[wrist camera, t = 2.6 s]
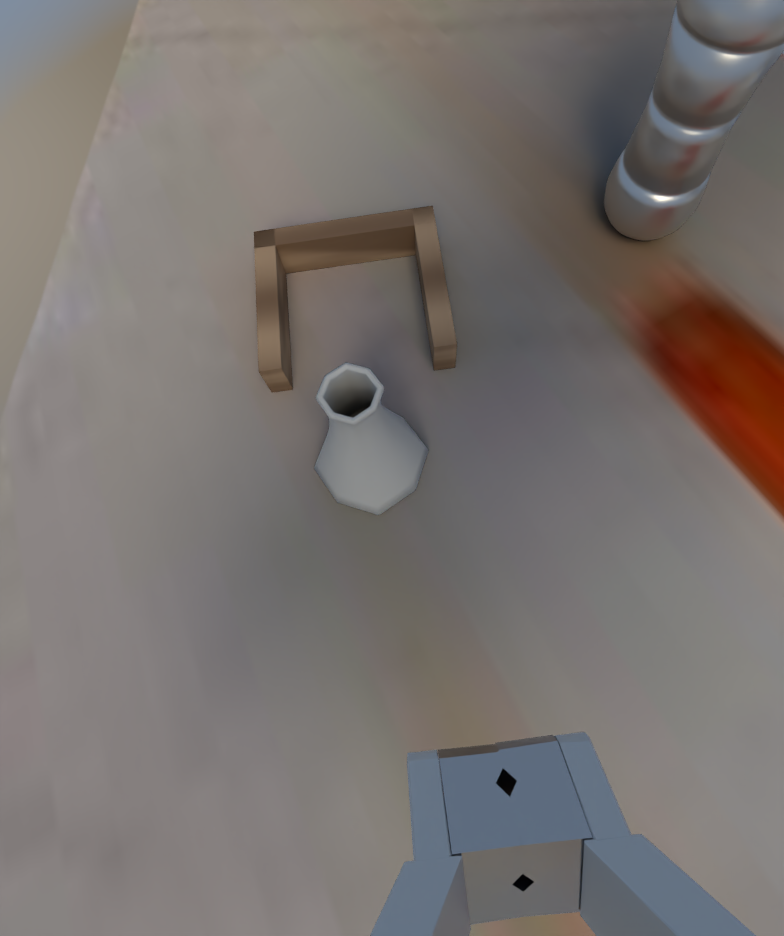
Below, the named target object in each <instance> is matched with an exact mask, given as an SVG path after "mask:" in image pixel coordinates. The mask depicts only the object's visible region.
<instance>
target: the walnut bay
mask: <svg viewBox="0 0 784 936" xmlns="http://www.w3.org/2000/svg"><path fill="white" fill-rule="evenodd" d="M254 249H255V278H256V307H257V336H258V366H259V373H260V374H261V376H262V378H263V379H264V381H265V382H266V384H267V386H268V387H269V389H270V390H271V392H279V391H286V390H293V385H292V368H291V350H290V333H289V315H288V298H287V280H286V273H293V272H300V271H307V270H314V269H321V268H328V267H335V266H342V265H349V264H356V263H363V262H370V261H377V260H384V259H391V258H398V257H405V256H412V255H416V260H417V266H418V273H419V279H420V285H421V292H422V298H423V305H424V311H425V317H426V324H427V330H428V336H429V343H430V349H431V355H432V362H433V368H434V370H441V369H448V368H455V364H456V352H457V341H456V335H455V330H454V324H453V318H452V313H451V307H450V301H449V296H448V290H447V284H446V279H445V273H444V267H443V262H442V256H441V250H440V245H439V239H438V233H437V228H436V222H435V216H434V211H433V206H427V207H420V208H413V209H407V210H400V211H393V212H386V213H379V214H372V215H365V216H359V217H352V218H345V219H338V220H331V221H324V222H317V223H311V224H304V225H297V226H290V227H283V228H276V229H269V230H263V231H256V232H254Z"/></svg>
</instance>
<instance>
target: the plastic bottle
mask: <svg viewBox="0 0 784 936" xmlns="http://www.w3.org/2000/svg"><path fill="white" fill-rule="evenodd" d="M783 51H784V0H677V4H676V7H675V10H674V14H673V18H672V22H671V26H670V30H669V34H668V38H667V42H666V46H665V50H664V54H663V58H662V61H661V64H660V67H659V70H658V73H657V76H656V79H655V82H654V86H653V88H652V91H651V94H650V97H649V100H648V103H647V105H646V107H645V109H644V111H643V113H642V115H641V117H640V119H639V122H638V124H637V126H636V128H635V130H634V132H633V134H632V136H631V138H630V140H629V142H628V144H627V146H626V147H625V149H624V150H623V152H622V153H621V155H620V156H619V158H618V160H617V162H616V163H615V165H614V167H613V169H612V171H611V173H610V175H609V178H608V180H607V185H606V191H605V197H604V208H605V211H606V214H607V216H608V219H609V221H610V223H611V224H612V226H613V227H614V228H615V229H616V230H617V231H618V232H620V233H621V234H623V235H625V236H627V237H629V238H632V239H636V240H644V241H645V240H654V239H659V238H661V237H664V236H666V235H669V234H671V233H673V232H675V231H676V230H678V229H679V228H680V227H681V226H682V225H683V224H684V223H685V222H686V221H687V219H688V218H689V217H690V216H691V215H692V214H693V212H694V211H695V210H696V208H697V207H698V205H699V203H700V201H701V198H702V196H703V194H704V191H705V189H706V186H707V183H708V179H709V176H710V173H711V170H712V168H713V166H714V164H715V161H716V159H717V157H718V155H719V153H720V151H721V149H722V147H723V145H724V142H725V140H726V138H727V136H728V134H729V132H730V130H731V128H732V126H733V124H734V123H735V121H736V120H737V118H738V117H739V115H740V113H741V111H742V110H743V109H744V107H745V105H746V104H747V102H748V101H749V99H750V98H751V96H752V94H753V93H754V91H755V90H756V88H757V86H758V85H759V83H760V82H761V81H762V79H763V78H764V77H765V75H766V74H767V73H768V71H769V70H770V69H771V67H772V66H773V65H774V63H775V62H776V60H777V59H778V58H779V56H780V55H781V54H782V52H783Z"/></svg>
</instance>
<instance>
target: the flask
mask: <svg viewBox="0 0 784 936" xmlns="http://www.w3.org/2000/svg"><path fill="white" fill-rule="evenodd" d="M383 392H384V386H383V385H382V384H381V382H380V381H379V380H378V379H377V377H376V376H375V375H374V374H373V372H372V371H371V370H370V368H366V367H362V366H358V365H355V364H351V363H347V362H345V363H344V364H342V365H341V366H339V367H338V368H336V369H334V370H333V371H331V372H330V373H328V374H327V375H325V376H324V379H323V381H322V383H321V386H320V388H319V391H318V393H317V396H316V400H317V401H318V403H319V404H320V406H321V407H322V408H323V410H324V411H325V413H326V414H327V415H328V417H329V431H328V434H327V436H326V439H325V442H324V444H323V447H322V449H321V452H320V454H319V457H318V459H317V462H316V464H315V467H314V469H315V471H316V472H317V473H318V475H319V476H320V478H321V479H322V481H323V482H324V484H325V485H326V487H327V488H328V490H329V491H330V493H331V494H332V495H333V497H334V498H335V500H336V501H337V502H338V503H341V504H344V505H347V506H350V507H354V508H357V509H360V510H363V511H366V512H370V513H373V514H376V515H380V514H382V513H383V512H385V511H386V510H387V509H389V508H390V507H392V506H393V505H395V504H396V503H398V502H399V501H401V500H402V499H403V498H405V497H406V496H408V495H409V494H411V493H412V492H414V491H415V490H416V487H417V484H418V481H419V478H420V475H421V472H422V469H423V466H424V463H425V460H426V457H427V454H428V451H429V450H428V449H427V447H426V446H425V445H424V444H423V442H422V441H421V440H420V438H419V437H418V436H417V435H416V433H415V432H414V431H413V429H412V428H411V427H410V426H409V424H408V423H407V422H406V420H405V419H404V418H403V417H401V416H399V415H398V414H396V413H394V412H392V411H390V410H389V409H387V408H386V407H384V406H383V405H381V397H382V395H383Z"/></svg>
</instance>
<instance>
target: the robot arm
mask: <svg viewBox="0 0 784 936" xmlns="http://www.w3.org/2000/svg"><path fill="white" fill-rule="evenodd" d="M438 755H439V759H438ZM439 764H440V766H439ZM407 770H408V784H409V798H410V812H411V827H412V841H413V855H414V860H413V861H407V862H404V864H403V866H402V869H401V871H400V873H399V875H398V877H397V879H396V881H395V884H394V886H393V888H392V890H391V892H390V894H389V896H388V899H387V901H386V903H385V905H384V907H383V909H382V911H381V913H380V916H379V918H378V920H377V922H376V924H375V926H374V928H373V931H372V933H371V935H370V936H469V933H470V930H471V928H470V925H471V924H477V923H484V922H491V921H497V920H504V919H511V918H517V917H525V916H536V915H548V914H560V913H572V912H580V916H581V917H582V918H583V919H584V921H585V922H586V923H587V924H588V926H589V927H590V928H591V929H592V931H593V932H594V933H595V934H596V936H756V935H755V934H754V933H752V932H751V931H750V930H749V929H748V928H747V927H746V926H745V925H743V924H742V923H741V922H740V921H739V920H738V919H737V918H736V917H734V916H733V915H732V914H731V913H730V912H729V911H728V910H727V909H725V908H724V907H723V906H722V905H721V904H720V903H719V902H718V901H716V900H715V899H714V898H713V897H712V896H711V895H710V894H708V893H707V892H706V891H705V890H704V889H703V888H702V887H701V886H699V885H698V884H697V883H696V882H695V881H694V880H693V879H692V878H690V877H689V876H688V875H687V874H686V873H685V872H684V871H683V870H681V869H680V868H679V867H678V866H677V865H676V864H675V863H674V862H672V861H671V860H670V859H669V858H668V857H667V856H666V855H665V854H663V853H662V852H661V851H660V850H659V849H658V848H657V847H656V846H654V845H653V844H652V843H651V842H650V841H649V840H648V839H647V838H645V837H644V836H643V835H642V834H633V835H631V832H630V830H629V828H628V825H627V823H626V821H625V818H624V816H623V814H622V811H621V809H620V807H619V804H618V802H617V800H616V798H615V795H614V793H613V791H612V788H611V786H610V784H609V781H608V779H607V777H606V774H605V772H604V770H603V767H602V765H601V763H600V760H599V758H598V756H597V753H596V751H595V749H594V747H593V744H592V742H591V740H590V738H589V737H588V735H587V734H586V733H585V732H577V733H570V734H563V735H557V736H553V735H548V736H541V737H533V738H526V739H519V740H512V741H505V742H498V743H495V744H489V745H480V746H470V747H460V748H450V749H441V750H438V753H437V750H429V751H421V752H413V753H408V757H407ZM440 771H441V774H440ZM441 779H442V781H441ZM442 787H443V788H442ZM443 794H444V795H443Z"/></svg>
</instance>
